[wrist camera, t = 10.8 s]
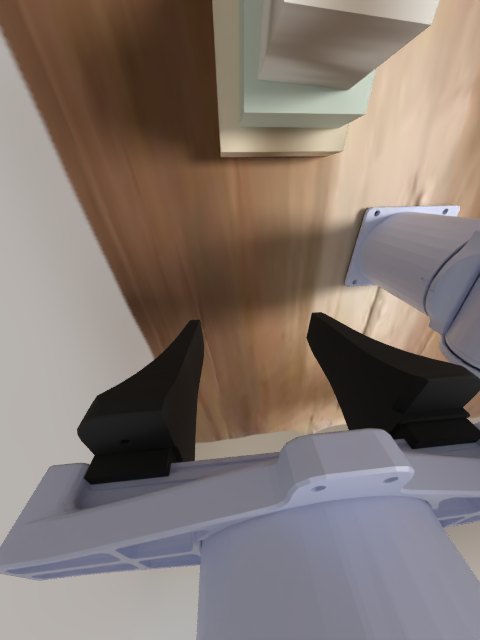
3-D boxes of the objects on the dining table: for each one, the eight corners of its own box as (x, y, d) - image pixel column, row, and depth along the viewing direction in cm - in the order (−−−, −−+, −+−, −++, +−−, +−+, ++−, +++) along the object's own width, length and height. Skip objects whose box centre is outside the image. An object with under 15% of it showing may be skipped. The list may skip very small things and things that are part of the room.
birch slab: (357, -33, 12) (393, -91, 10) (324, 156, 17) (343, 151, 14) (209, -41, 11) (206, -106, 9) (220, 158, 16) (221, 152, 14)
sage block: (376, -63, 10) (429, -148, 7) (339, 127, 14) (365, 114, 11) (237, -74, 9) (244, -168, 7) (239, 127, 13) (243, 112, 11)
